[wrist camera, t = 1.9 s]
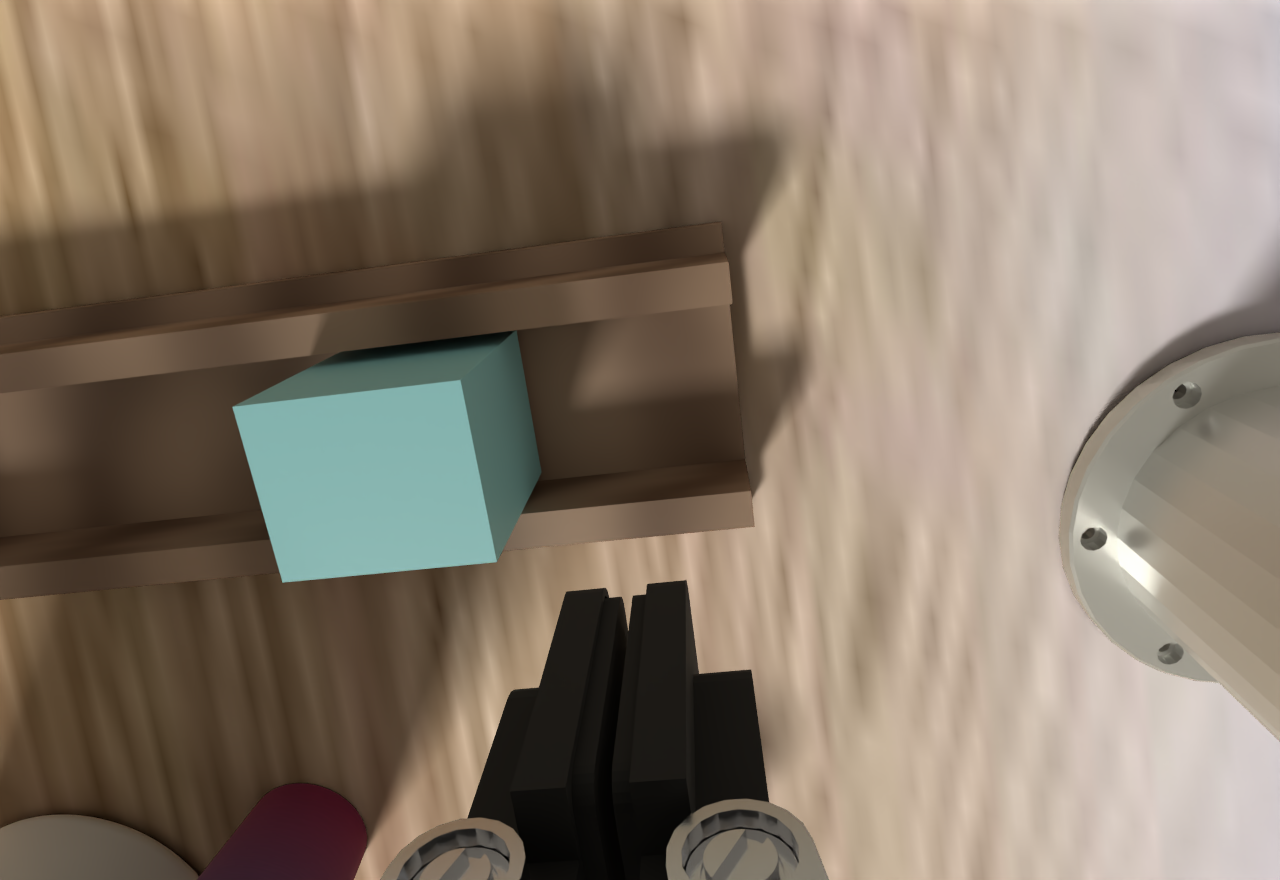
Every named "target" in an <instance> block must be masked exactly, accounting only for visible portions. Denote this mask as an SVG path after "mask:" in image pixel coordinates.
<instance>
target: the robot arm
mask: <svg viewBox="0 0 1280 880" xmlns="http://www.w3.org/2000/svg"><path fill="white" fill-rule="evenodd" d="M1178 387H1179V388H1178ZM1177 388H1178V391H1177V392H1176V393H1175V394H1174V391H1175V390H1176V389H1177ZM1173 394H1174V395H1173ZM1087 529H1088V530H1087ZM1086 530H1087V531H1086ZM1085 531H1086V532H1085ZM1084 532H1085V533H1084ZM1059 544H1060V550H1061V557H1062V564H1063V569H1064V571H1065V574H1066V577H1067V579H1068V582H1069V584H1070V587H1071V589H1072V592H1073V594H1074V596H1075V598H1076V599H1077V601H1078V602H1079V603H1080V605H1081V606H1082V608H1083V609H1084V611H1085V612H1086V614H1087V615H1088V617H1089V618H1090V619H1091V620H1092V621H1093V622H1094V624H1095V625H1096V626H1097V627H1098V628H1099V629H1100V630H1101V631H1102V632H1103V633H1104V634H1105V635H1106V636H1107V637H1108V639H1109V640H1110V641H1111V642H1113V643H1114V644H1115V645H1117V646H1118V647H1119V648H1121V649H1122V650H1123V651H1125V652H1126V653H1127V654H1129V655H1130V656H1131V657H1133V658H1134V659H1136V660H1138V661H1140V662H1142V663H1144V664H1146V665H1148V666H1150V667H1152V668H1154V669H1156V670H1158V671H1161V672H1163V673H1167V674H1171V675H1174V676H1178V677H1182V678H1186V679H1190V680H1194V681H1202V682H1214V683H1220V684H1221V685H1222V686H1223V687H1224V688H1225V689H1226V690H1227V691H1228V692H1229V693H1230V694H1231V695H1232V696H1233V697H1234V698H1235V699H1236V700H1237V701H1238V702H1239V703H1240V704H1241V705H1242V706H1243V707H1244V708H1246V709H1247V710H1248V711H1249V712H1250V713H1251V714H1252V715H1253V716H1254V717H1255V718H1256V719H1257V720H1258V721H1259V722H1260V723H1261V724H1262V725H1263V726H1264V727H1265V728H1266V729H1267V730H1268V731H1269V732H1270V733H1271V734H1272V735H1274V736H1275V737H1276V738H1277V739H1278V740H1279V741H1280V332H1278V333H1269V334H1260V335H1251V336H1244V337H1240V338H1237V339H1233V340H1230V341H1226V342H1223V343H1219V344H1216V345H1212V346H1209V347H1205V348H1203V349H1201V350H1199V351H1197V352H1195V353H1193V354H1190V355H1188V356H1186V357H1184V358H1182V359H1180V360H1178V361H1176V362H1174V363H1171V364H1169V365H1168V366H1166V367H1165V368H1163V369H1162V370H1160V371H1159V372H1157V373H1156V374H1155V375H1153V376H1152V377H1150V378H1149V379H1147V380H1146V381H1144V382H1143V383H1141V384H1140V385H1138V386H1137V387H1136V388H1135V389H1134V390H1133V391H1131V392H1130V393H1129V394H1128V395H1127V396H1126V397H1125V398H1124V399H1123V400H1122V401H1121V402H1120V403H1119V404H1118V405H1117V406H1116V407H1115V408H1114V409H1113V410H1111V411H1110V412H1109V413H1108V415H1107V416H1106V417H1105V419H1104V420H1103V421H1102V423H1101V424H1100V425H1099V427H1098V428H1097V429H1096V431H1095V432H1094V433H1093V435H1092V436H1091V437H1090V438H1089V440H1088V441H1087V442H1086V444H1085V446H1084V448H1083V450H1082V452H1081V454H1080V456H1079V458H1078V460H1077V462H1076V464H1075V466H1074V468H1073V470H1072V472H1071V474H1070V477H1069V480H1068V484H1067V487H1066V491H1065V494H1064V498H1063V501H1062V505H1061V513H1060V527H1059ZM380 880H829V879H828V876H827V874H826V871H825V869H824V866H823V864H822V861H821V859H820V856H819V854H818V851H817V849H816V846H815V843H814V841H813V839H812V837H811V835H810V834H809V832H808V831H807V829H806V827H805V826H804V824H803V823H802V822H801V821H800V820H799V819H797V818H796V817H795V816H794V815H792V814H791V813H790V812H789V811H787V810H785V809H783V808H781V807H778V806H776V805H774V804H771V803H769V798H768V791H767V783H766V776H765V768H764V761H763V753H762V746H761V738H760V731H759V724H758V716H757V709H756V701H755V694H754V686H753V679H752V672H751V670H741V671H729V672H717V673H706V674H699V671H698V663H697V655H696V647H695V639H694V632H693V624H692V616H691V608H690V600H689V593H688V586H687V581H686V580H685V581H674V582H663V583H653V584H647V590H646V595H635V596H633V598H632V607H631V615H630V623H629V631H628V627H627V621H626V614H625V608H624V603H623V599H622V597H614V598H609V595H608V591H607V589H606V588H600V589H590V590H579V591H569V592H566V594H565V597H564V601H563V604H562V608H561V611H560V615H559V618H558V622H557V625H556V629H555V633H554V636H553V640H552V643H551V647H550V650H549V654H548V657H547V661H546V664H545V668H544V672H543V675H542V679H541V682H540V686H539V688H529V689H517V690H513V691H512V692H511V693H510V695H509V697H508V699H507V702H506V705H505V708H504V711H503V714H502V717H501V720H500V723H499V726H498V729H497V732H496V735H495V738H494V741H493V744H492V747H491V750H490V753H489V756H488V759H487V762H486V765H485V768H484V771H483V774H482V777H481V780H480V783H479V786H478V788H477V791H476V794H475V797H474V800H473V803H472V806H471V809H470V812H469V815H468V818H467V819H459V820H455V821H452V822H449V823H445V824H442V825H439V826H437V827H435V828H433V829H431V830H429V831H427V832H425V833H423V834H422V835H420V836H418V837H417V838H416V839H414V840H413V841H412V842H411V843H409V844H408V845H407V846H406V847H405V848H403V849H402V850H401V851H400V852H399V854H398V855H397V856H396V857H395V859H394V860H393V861H392V862H391V864H390V865H389V866H388V868H387V869H386V871H385V873H384V874H383V876H382V878H381V879H380Z"/></svg>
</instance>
